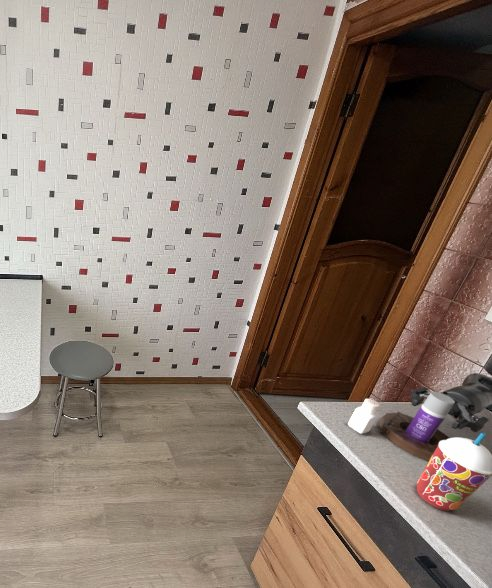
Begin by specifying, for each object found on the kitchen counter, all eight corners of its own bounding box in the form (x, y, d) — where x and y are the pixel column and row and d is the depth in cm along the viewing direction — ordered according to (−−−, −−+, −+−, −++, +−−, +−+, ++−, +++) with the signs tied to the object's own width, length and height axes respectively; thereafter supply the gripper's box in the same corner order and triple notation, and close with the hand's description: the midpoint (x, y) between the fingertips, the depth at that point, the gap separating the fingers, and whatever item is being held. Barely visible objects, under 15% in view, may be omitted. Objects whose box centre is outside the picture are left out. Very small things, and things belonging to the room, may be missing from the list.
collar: (459, 448, 90) (464, 441, 89) (445, 473, 82) (450, 466, 81) (389, 412, 101) (393, 406, 100) (371, 431, 93) (375, 424, 92)
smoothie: (441, 520, 71) (496, 453, 62) (399, 484, 78) (444, 420, 70) (469, 514, 72) (526, 448, 64) (426, 479, 80) (472, 416, 72)
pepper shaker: (355, 421, 96) (369, 396, 92) (369, 432, 93) (385, 406, 89) (346, 424, 95) (360, 398, 91) (360, 435, 92) (376, 408, 88)
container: (404, 440, 91) (432, 398, 85) (401, 430, 95) (428, 388, 88) (427, 449, 89) (458, 406, 83) (423, 438, 92) (452, 396, 86)
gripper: (437, 375, 99) (408, 385, 93) (506, 407, 87) (478, 422, 81) (424, 395, 102) (396, 406, 96) (490, 429, 90) (462, 444, 84)
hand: (434, 413), depth 89 cm, fingers open, 8 cm apart
